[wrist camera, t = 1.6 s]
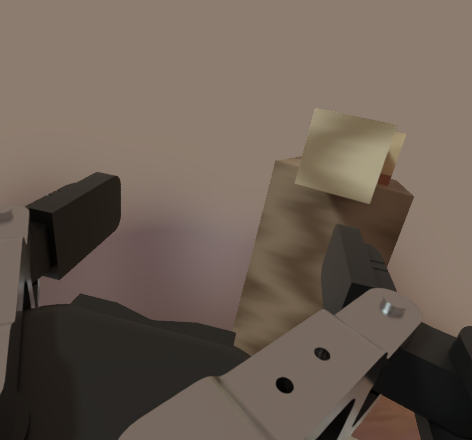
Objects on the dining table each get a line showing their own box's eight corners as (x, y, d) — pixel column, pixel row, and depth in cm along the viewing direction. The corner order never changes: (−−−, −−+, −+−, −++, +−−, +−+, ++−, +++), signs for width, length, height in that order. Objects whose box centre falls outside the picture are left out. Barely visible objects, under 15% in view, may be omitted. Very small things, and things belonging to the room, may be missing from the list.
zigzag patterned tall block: (199, 462, 35) (275, 160, 25) (237, 386, 46) (301, 156, 36) (292, 515, 32) (416, 197, 23) (310, 420, 43) (397, 180, 34)
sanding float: (262, 174, 17) (282, 92, 16) (314, 159, 36) (325, 122, 35) (408, 214, 15) (444, 123, 14) (381, 176, 34) (394, 137, 33)
